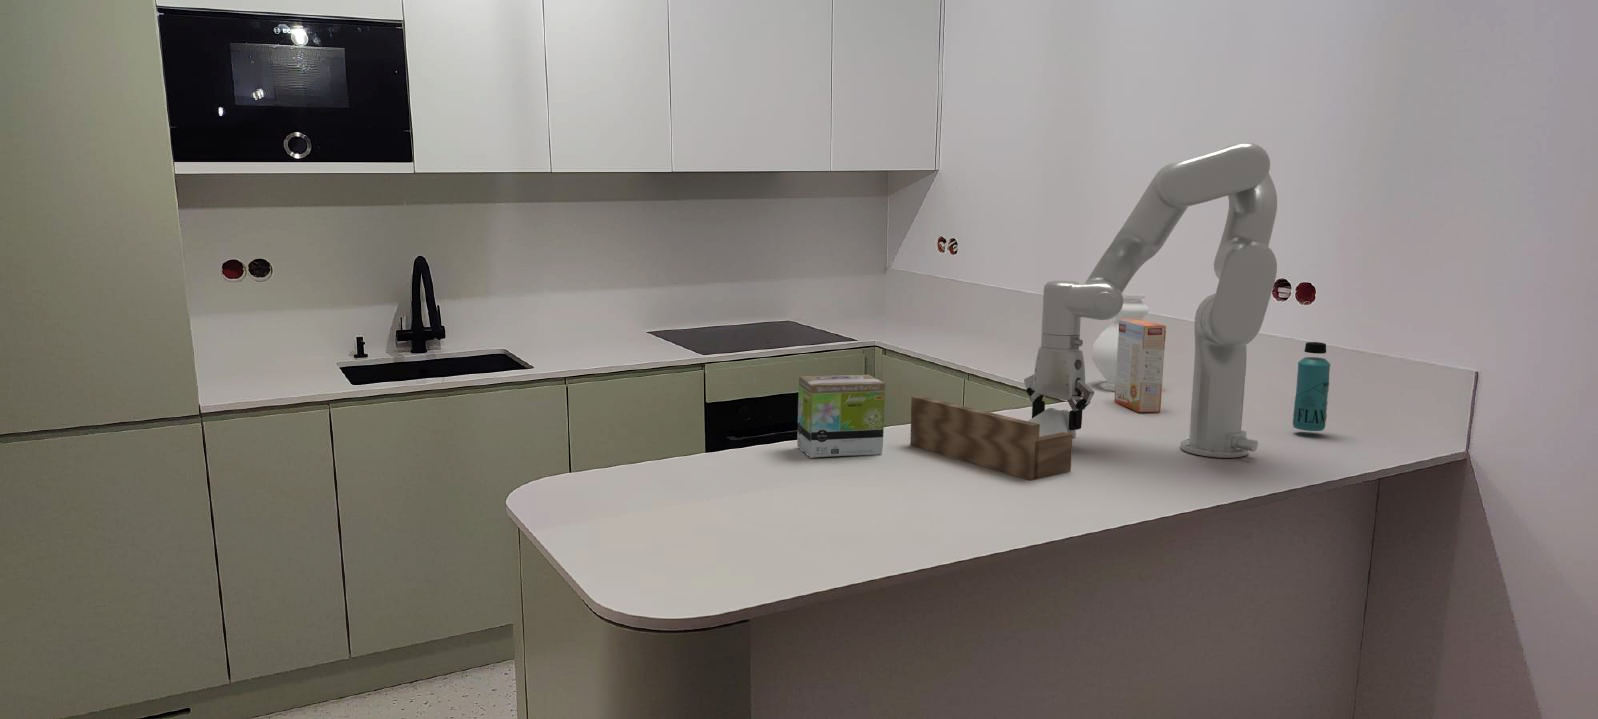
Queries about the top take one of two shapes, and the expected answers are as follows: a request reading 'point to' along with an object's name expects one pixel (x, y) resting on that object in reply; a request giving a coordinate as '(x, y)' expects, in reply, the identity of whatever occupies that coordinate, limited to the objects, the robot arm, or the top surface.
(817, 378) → the tea box
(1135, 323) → the cracker box
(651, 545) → the top surface
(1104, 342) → the decorative vase
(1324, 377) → the beverage bottle
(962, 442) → the stand
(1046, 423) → the spoon rest
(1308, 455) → the top surface
